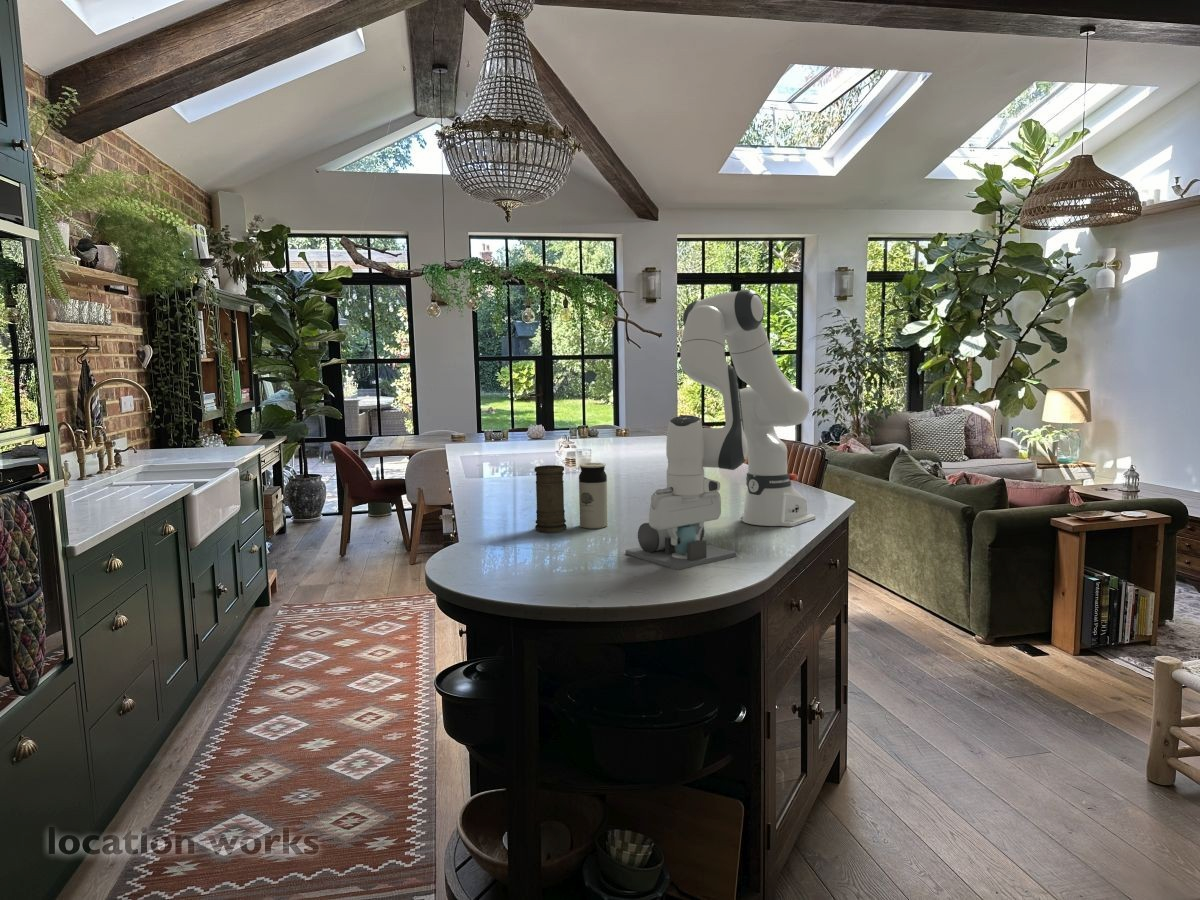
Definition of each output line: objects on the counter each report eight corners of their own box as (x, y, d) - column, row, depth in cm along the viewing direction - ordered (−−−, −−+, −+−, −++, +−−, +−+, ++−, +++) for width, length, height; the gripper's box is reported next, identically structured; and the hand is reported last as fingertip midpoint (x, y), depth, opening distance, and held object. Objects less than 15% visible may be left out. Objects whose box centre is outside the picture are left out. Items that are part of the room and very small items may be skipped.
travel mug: (594, 522, 232) (592, 461, 230) (613, 525, 227) (612, 463, 225) (574, 526, 227) (572, 464, 225) (593, 530, 221) (592, 466, 219)
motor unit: (683, 542, 205) (683, 504, 204) (736, 556, 190) (736, 515, 189) (625, 553, 194) (625, 513, 193) (677, 569, 179) (677, 526, 177)
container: (562, 533, 218) (561, 469, 215) (531, 532, 219) (529, 468, 217) (570, 526, 226) (568, 464, 224) (540, 526, 228) (538, 464, 226)
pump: (700, 550, 187) (700, 519, 186) (684, 554, 184) (684, 522, 183) (685, 546, 191) (685, 516, 190) (670, 550, 188) (670, 519, 187)
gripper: (660, 492, 177) (661, 552, 178) (725, 482, 189) (725, 538, 190) (642, 488, 182) (643, 547, 183) (706, 479, 194) (707, 534, 195)
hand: (685, 542), depth 187 cm, fingers closed on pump, 5 cm apart
